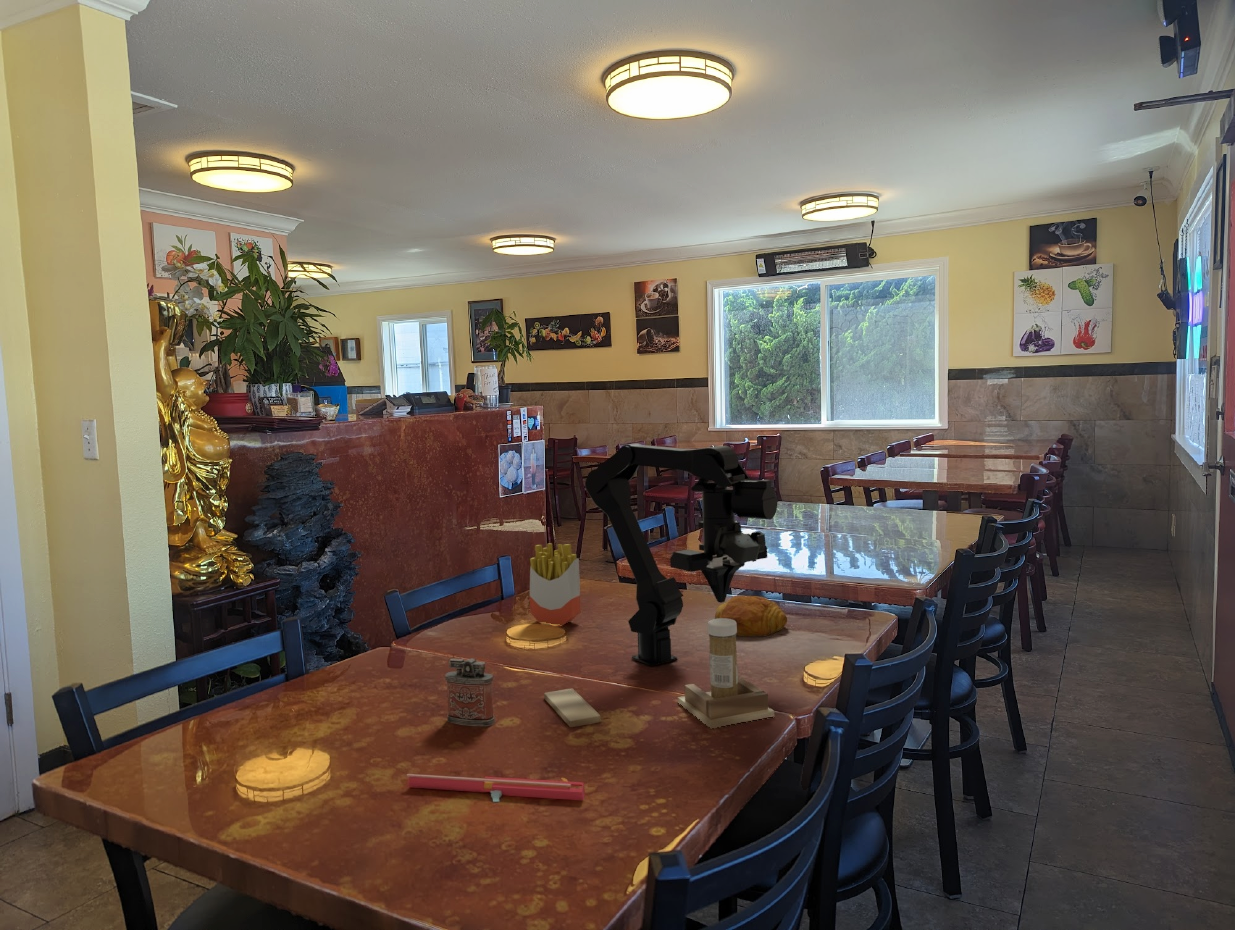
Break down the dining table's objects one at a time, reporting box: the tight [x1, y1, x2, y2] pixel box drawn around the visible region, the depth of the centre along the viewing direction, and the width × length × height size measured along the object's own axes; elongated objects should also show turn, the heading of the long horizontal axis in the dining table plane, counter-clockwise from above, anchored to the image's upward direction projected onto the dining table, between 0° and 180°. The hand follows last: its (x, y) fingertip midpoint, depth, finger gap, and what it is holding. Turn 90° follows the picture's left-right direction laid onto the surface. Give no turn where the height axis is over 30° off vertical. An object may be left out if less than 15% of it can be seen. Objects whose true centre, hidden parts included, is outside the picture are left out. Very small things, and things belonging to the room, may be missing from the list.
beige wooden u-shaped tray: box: [677, 675, 775, 730], centre depth 134 cm, size 12×11×4 cm
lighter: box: [444, 657, 496, 727], centre depth 132 cm, size 8×3×10 cm, turn 71°
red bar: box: [406, 773, 586, 803], centre depth 108 cm, size 24×2×5 cm
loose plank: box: [543, 688, 602, 728], centre depth 136 cm, size 14×5×2 cm, turn 21°
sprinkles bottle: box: [707, 618, 739, 699], centre depth 133 cm, size 5×5×14 cm
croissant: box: [714, 594, 788, 637], centre depth 180 cm, size 14×16×8 cm
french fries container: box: [529, 542, 582, 626], centre depth 189 cm, size 5×11×18 cm, turn 64°
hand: (721, 602), depth 151 cm, fingers closed
